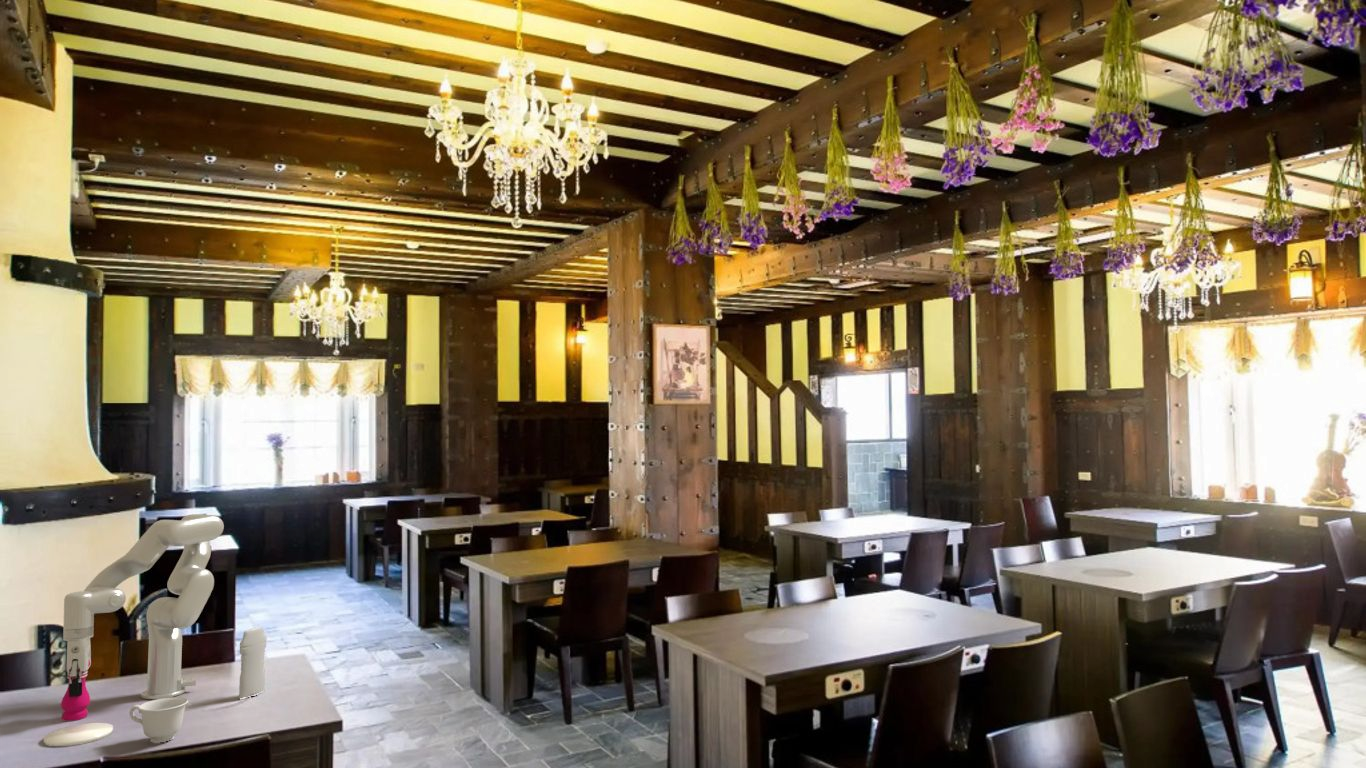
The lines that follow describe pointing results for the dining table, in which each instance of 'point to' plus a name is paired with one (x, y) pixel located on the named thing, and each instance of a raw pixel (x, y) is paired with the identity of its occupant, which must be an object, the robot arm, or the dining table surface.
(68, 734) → the plate
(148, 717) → the teacup
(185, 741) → the dining table surface
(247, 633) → the tall pale column
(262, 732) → the dining table surface
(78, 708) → the pepper mill
